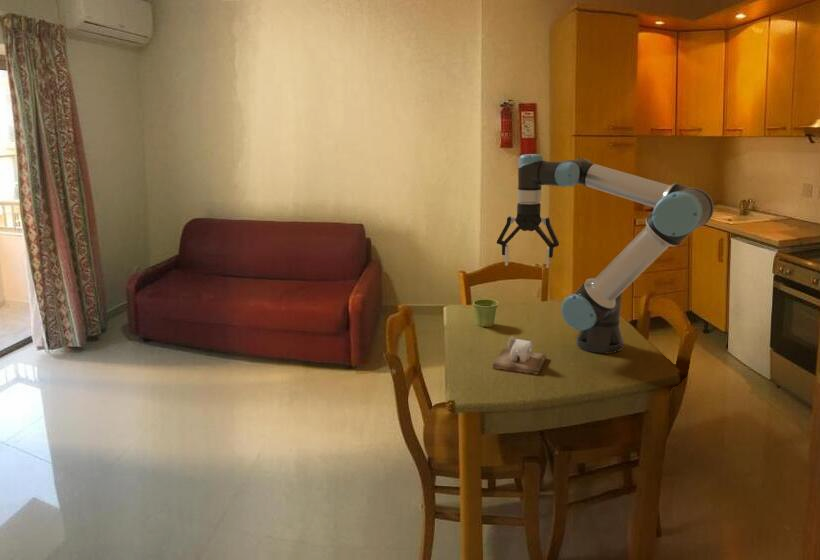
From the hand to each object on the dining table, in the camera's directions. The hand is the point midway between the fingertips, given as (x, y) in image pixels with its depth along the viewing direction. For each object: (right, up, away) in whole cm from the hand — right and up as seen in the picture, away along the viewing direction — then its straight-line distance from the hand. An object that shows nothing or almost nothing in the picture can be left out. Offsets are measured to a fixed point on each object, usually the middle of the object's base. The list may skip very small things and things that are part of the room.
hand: (526, 265), depth 211 cm
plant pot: (-11, -22, +25) cm, 35 cm away
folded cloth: (-4, -31, -11) cm, 33 cm away
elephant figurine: (-4, -30, -12) cm, 32 cm away
